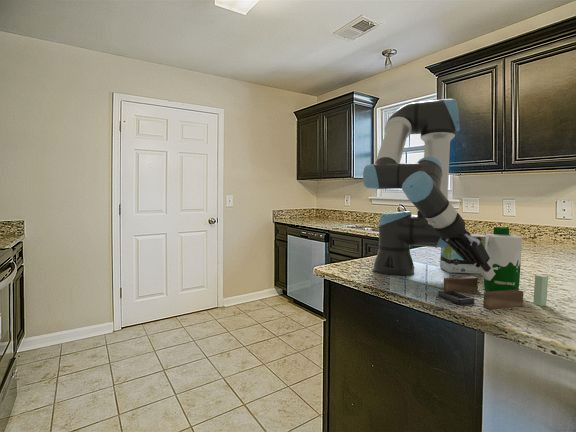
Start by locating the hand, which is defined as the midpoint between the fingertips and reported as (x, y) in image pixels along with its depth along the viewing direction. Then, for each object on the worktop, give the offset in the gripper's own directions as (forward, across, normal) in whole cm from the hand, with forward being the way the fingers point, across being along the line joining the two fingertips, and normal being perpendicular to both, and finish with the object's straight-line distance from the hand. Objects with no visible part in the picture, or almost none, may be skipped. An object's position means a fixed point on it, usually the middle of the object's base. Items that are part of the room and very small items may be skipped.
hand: (490, 276), depth 96 cm
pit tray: (-4, 0, -13) cm, 13 cm away
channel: (+2, 0, -7) cm, 7 cm away
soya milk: (+9, -2, 0) cm, 9 cm away
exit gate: (+10, 0, +2) cm, 10 cm away
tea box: (+18, -30, +9) cm, 36 cm away
